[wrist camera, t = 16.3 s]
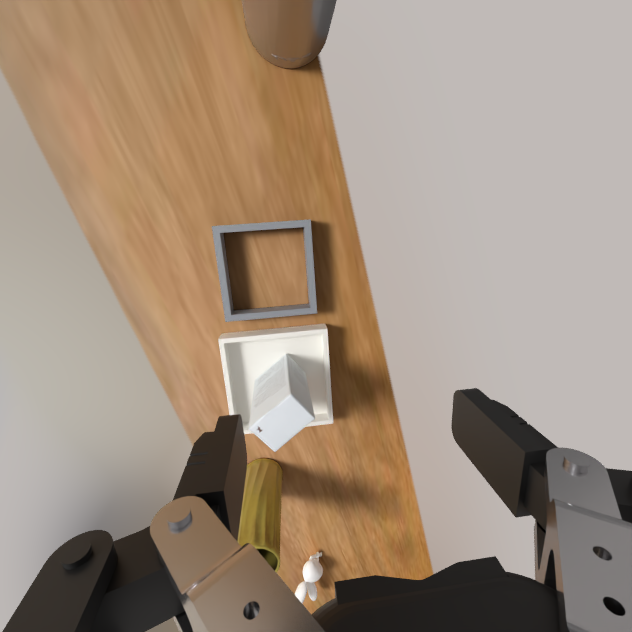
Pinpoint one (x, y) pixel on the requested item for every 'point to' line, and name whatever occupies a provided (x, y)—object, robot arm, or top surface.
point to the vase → (262, 509)
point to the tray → (266, 349)
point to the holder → (269, 311)
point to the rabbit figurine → (310, 578)
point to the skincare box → (280, 403)
